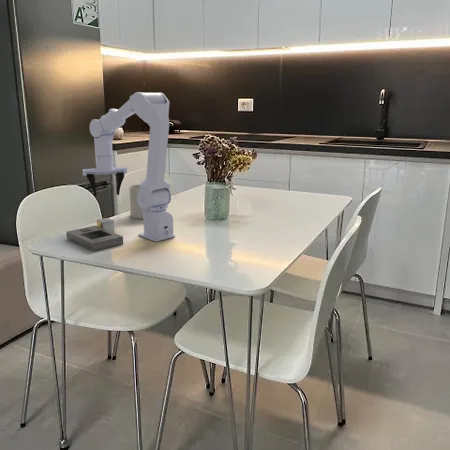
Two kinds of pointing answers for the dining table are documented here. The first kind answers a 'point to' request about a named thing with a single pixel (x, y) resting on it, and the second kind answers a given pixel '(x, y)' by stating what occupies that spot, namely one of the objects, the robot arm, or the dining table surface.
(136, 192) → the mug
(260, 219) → the dining table surface
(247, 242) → the dining table surface
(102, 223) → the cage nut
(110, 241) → the grey recessed tray
